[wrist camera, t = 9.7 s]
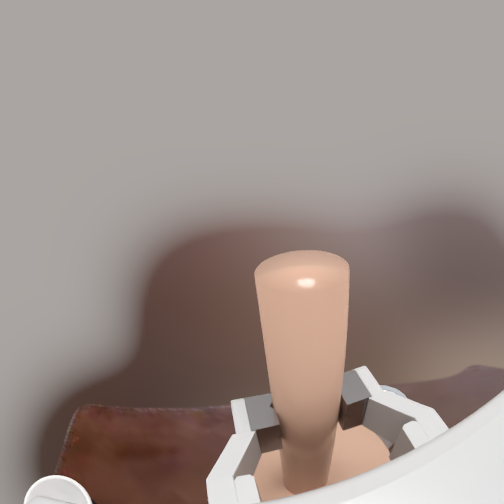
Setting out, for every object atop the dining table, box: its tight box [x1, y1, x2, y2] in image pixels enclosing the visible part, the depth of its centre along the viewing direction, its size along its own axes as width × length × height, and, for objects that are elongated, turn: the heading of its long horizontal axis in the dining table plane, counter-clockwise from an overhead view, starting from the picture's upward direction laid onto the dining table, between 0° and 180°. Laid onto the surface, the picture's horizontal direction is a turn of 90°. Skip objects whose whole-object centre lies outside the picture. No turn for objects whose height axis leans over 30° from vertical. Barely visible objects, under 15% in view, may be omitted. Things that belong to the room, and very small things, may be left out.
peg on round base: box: [253, 250, 391, 502], centre depth 10 cm, size 10×10×14 cm
